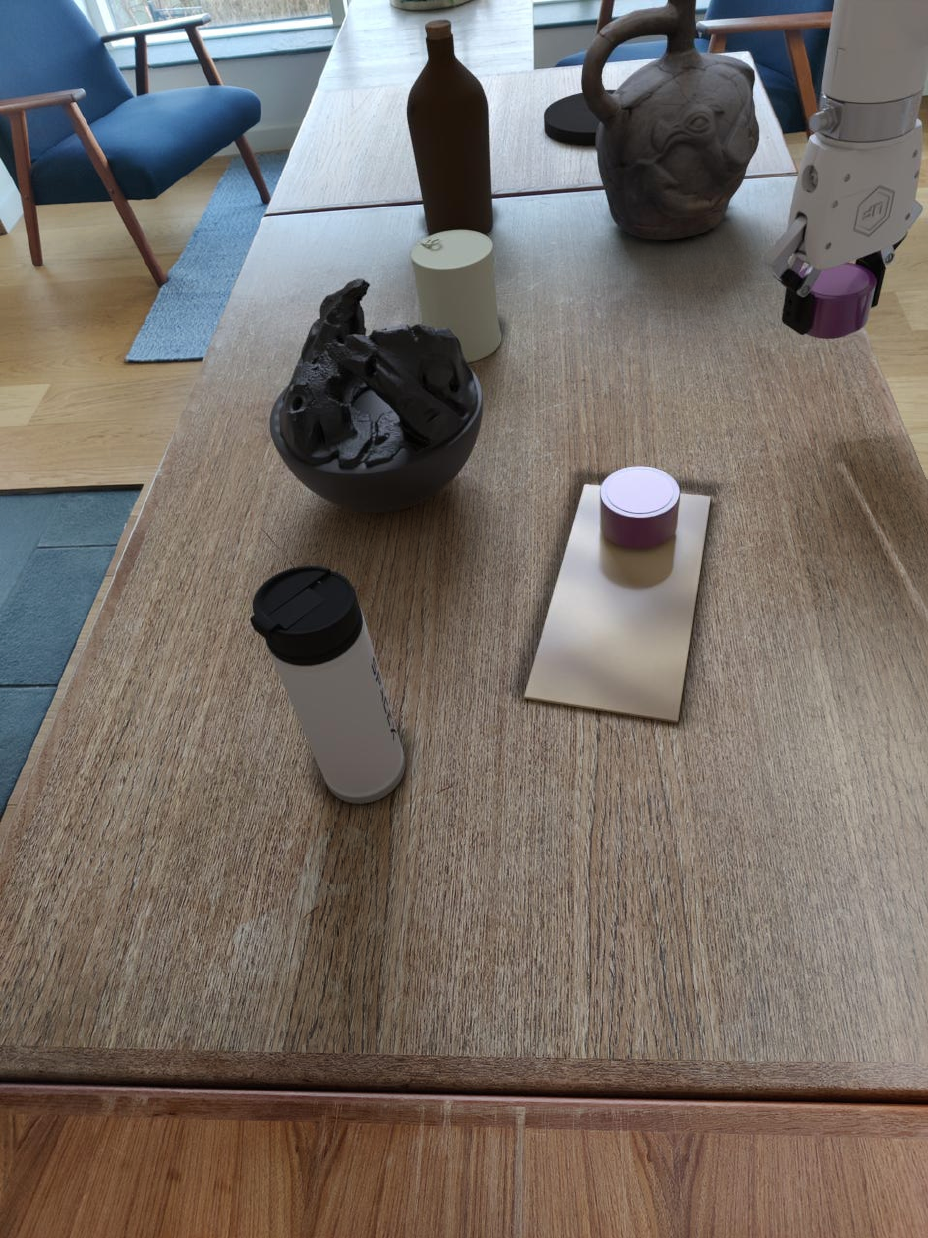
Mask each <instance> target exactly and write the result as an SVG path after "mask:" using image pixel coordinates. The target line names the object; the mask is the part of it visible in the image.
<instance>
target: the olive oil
mask: <svg viewBox="0 0 928 1238" xmlns="http://www.w3.org/2000/svg"><path fill="white" fill-rule="evenodd" d="M424 28H425V29H424V30H425V33H426V37H425V45H426V51H427V61H426V63H425V64H424V67H423V68H422V70H421V72H420V73H419V75H418V76H417V78H416V79H415V81H414V83H413V85H412V86H411V88H410V91H409V93H408V97H407V103H406V121H407V125H408V132H409V136H410V141H411V146H412V152H413V157H414V162H415V166H416V168H415V169H416V173H417V178H418V183H419V188H420V189H419V190H420V194H421V195H420V196H421V201H422V206H423V213H424V216H425V217H424V218H425V224H426V231H427V233H428V235H429V236H431V235H433V234H437V233H440V232H445V231H451V230H470V231H475V232H479V233H482V234H484V235H486V234H487V233H489V231H491V229H492V228H493V226H494V213H493V194H492V174H491V173H492V172H491V171H492V170H491V146H490V143H491V141H490V139H491V138H490V109H489V107H490V106H489V101H488V97H487V94H486V92H485V89H484V86H483V84H482V83H481V81H480V80H479V79H478V77H476V76H475V74H474V73H472V71H470V70H469V69H468V68H467V67H466V66H465V65H464V64H463V63H462V62H461V61H460V60H459V59H458V58H457V56H456V54H455V42H454V34H453V33H452V22H451V20H449V19H435V20H432V21H429V22H427V23H426V24H425V25H424Z"/></svg>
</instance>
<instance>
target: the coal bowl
mask: <svg viewBox="0 0 928 1238" xmlns="http://www.w3.org/2000/svg"><path fill="white" fill-rule="evenodd" d="M370 286H371V283H370V282H368V281H366V279H364V278H360V277H359V278H356V279H353V280H350V281H348V282H347V283H346V284H345V285H344V287H343V288H341V289H338V290H337V291H335V292H333V293H330V294H328V295H326V296H325V297H324V298H323V300H322V302H321V303H320V305H319V310H318V312H319V318H317V319H316V320H315V321H313V323H312V325H311V327H310V329H309V331H308V334H307V337H306V339H305V342H304V344H303V346H302V348H301V352H300V356H299V358H298V360H297V363H296V365H295V368H294V370H293V373H292V376H291V379H290V381H289V382H288V385H287V386H285V388H284V389H283V390H282V391H281V392H280V394H279V396H277V398H276V400H275V402H274V404H273V406H272V408H271V411H270V415H269V433H270V438H271V440H272V442H273V445H274V447H275V449H276V451H277V453H278V455H279V457H280V458H281V460H282V461H283V463H284V465H286V467H287V468H288V470H289V471H290V472H291V474H293V475H294V476H295V478H296V479H297V480H298V481H299V482H300V483H301V484H303V485H304V486H305V487H306V488H307V489H308V490H309V491H311V492H313V493H314V494H316V495H317V496H318V497H320V498H322V499H324V500H325V501H328V502H329V503H332V504H333V505H334V504H335V505H336V506H339V507H342V508H344V509H349V510H353V511H357V512H364V513H390V512H396V511H401V510H405V509H408V508H411V507H414V506H416V505H418V504H421V503H423V502H426V501H427V500H428V499H430V498H432V497H433V496H435V495H437V494H438V493H440V492H441V491H442V490H443V489H444V488H446V487H447V486H448V485H449V484H450V483H451V482H452V481H453V480H454V479H455V478H456V477H457V475H458V474H459V473H460V472H461V470H462V469H463V468H464V466H465V465H466V463H467V461H468V460H469V459H470V456H471V454H472V452H473V450H474V448H475V446H476V443H477V440H478V437H479V434H480V431H481V425H482V420H483V415H484V414H483V413H484V393H483V388H482V386H481V383H480V380H479V379H478V376H477V375H476V374H475V372H474V371H473V370H472V369H471V367H470V365H469V363H467V361H466V359H465V357H464V355H463V353H462V349H461V344H460V342H459V340H458V338H457V337H456V336H454V334H453V333H452V332H451V331H450V329H449V328H447V327H444V328H433V327H431V326H425V325H423V324H422V323H421V324H420V323H417V324H415V325H412V326H410V325H408V324H402V325H393V326H388V327H385V328H377V329H373V330H372V332H371V334H369V335H367V328H366V326H365V323H366V322H365V311H364V308H363V306H362V304H361V302H362V301H363V298H364V297H365V296H366V295H367V294H368V290H369V289H370V288H369V287H370Z"/></svg>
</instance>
